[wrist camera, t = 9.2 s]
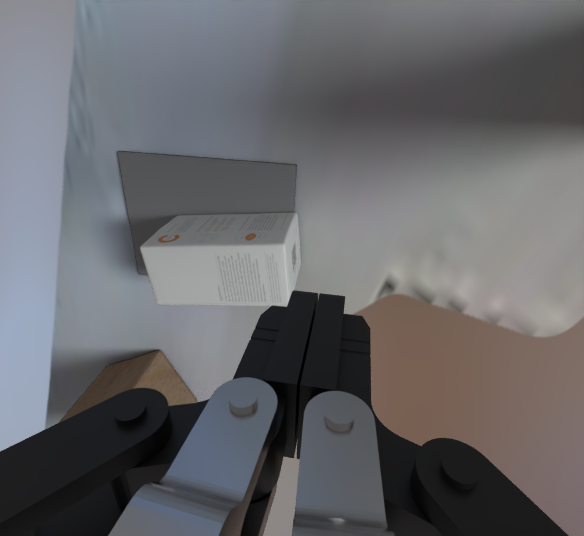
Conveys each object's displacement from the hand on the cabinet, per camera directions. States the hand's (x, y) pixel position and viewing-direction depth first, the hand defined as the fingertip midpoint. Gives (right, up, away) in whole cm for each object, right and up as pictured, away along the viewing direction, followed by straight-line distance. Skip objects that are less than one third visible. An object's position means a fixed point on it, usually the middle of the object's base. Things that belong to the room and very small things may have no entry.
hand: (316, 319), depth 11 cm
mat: (-9, +6, +29) cm, 31 cm away
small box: (0, +3, +24) cm, 24 cm away
